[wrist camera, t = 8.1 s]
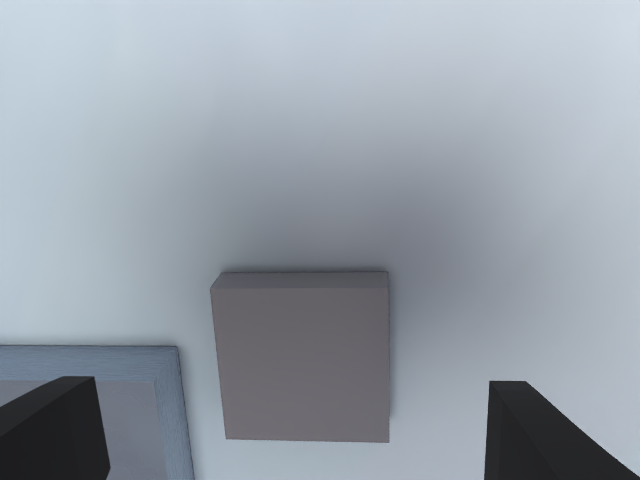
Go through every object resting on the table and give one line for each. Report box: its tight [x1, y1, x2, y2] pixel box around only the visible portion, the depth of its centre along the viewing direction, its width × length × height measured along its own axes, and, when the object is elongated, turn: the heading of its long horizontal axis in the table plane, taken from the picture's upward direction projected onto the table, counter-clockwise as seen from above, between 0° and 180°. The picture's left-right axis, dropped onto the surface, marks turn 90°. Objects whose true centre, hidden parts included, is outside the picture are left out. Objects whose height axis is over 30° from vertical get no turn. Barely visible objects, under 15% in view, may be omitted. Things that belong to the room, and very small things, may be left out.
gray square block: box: [210, 272, 389, 443], centre depth 21 cm, size 6×6×2 cm
